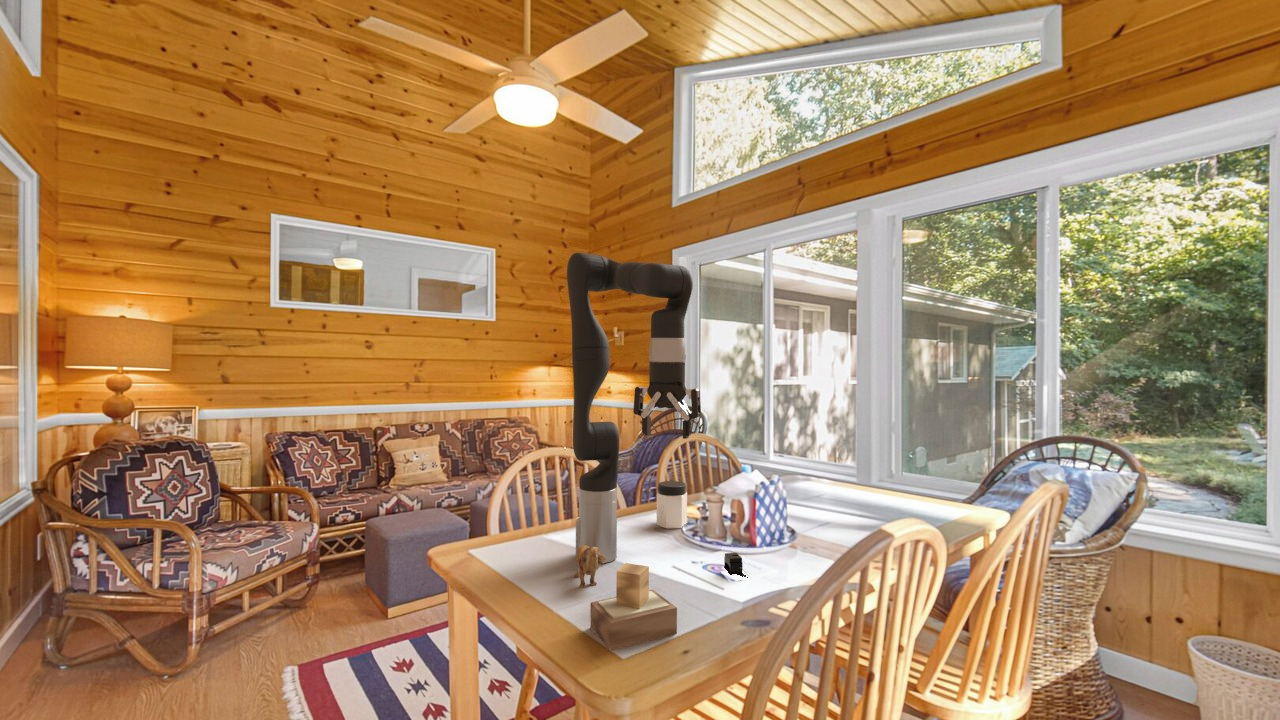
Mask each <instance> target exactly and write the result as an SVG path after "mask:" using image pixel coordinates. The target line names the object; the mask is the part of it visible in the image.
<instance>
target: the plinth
mask: <svg viewBox="0 0 1280 720" xmlns="http://www.w3.org/2000/svg"><path fill="white" fill-rule="evenodd" d="M589 618H590V621H589V623H590V624H589V626H590V629H591V630H592V631H593V633H595V634H596V636H597V637H598V638H599V640H601V641H602V642H603V643H604V644H605V645H606V646H607V648H608V649H609V650H610V651H613V650H618V649H621V648H624V647H625V648H626V647H628V646H633V645H636V644H640V643H645V642H648V641H649V642H650V641H653V640H657V639H660V638H664V637H667V636H668V637H669V636H672V635H677V633H678V607H677V606H676V605H674V604H673V603H672V602H670V601H669V600H668V599H666V598H665V597H664V596H663V595H661V594H660V593H659V592H657V591H656V590H655V589H649V599H648V600H647V601H646V602H645V603H644V604H643V606H642V607H641V608H640V609H639V608H633V607H628V606H622V605H616V596H614V597H610V598H604V599H601V600H600V599H599V600H595V601H591V602H590V617H589Z"/></svg>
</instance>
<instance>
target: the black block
mask: <svg viewBox="0 0 1280 720" xmlns="http://www.w3.org/2000/svg"><path fill="white" fill-rule="evenodd" d="M723 566H724V568H725V569H726V570H727V571H728V573H729V574H730V575H732V574H737V575H740V576H742V577H743V576H744V577H746V575H744V574H743V573H742V570H743V558H742V556H741V555H740V554H738V553H737V552H727V553H726V552H725V553H724V565H723ZM747 578H748V577H747Z"/></svg>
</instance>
